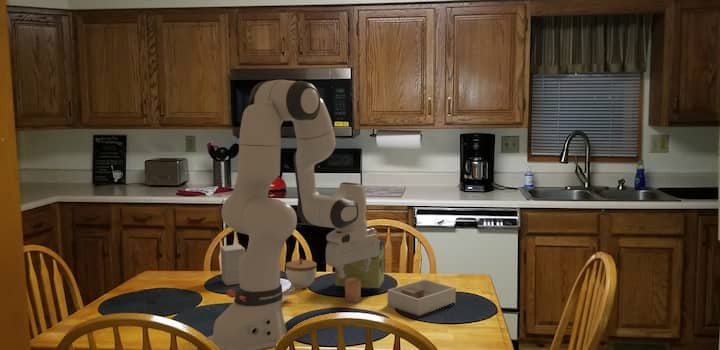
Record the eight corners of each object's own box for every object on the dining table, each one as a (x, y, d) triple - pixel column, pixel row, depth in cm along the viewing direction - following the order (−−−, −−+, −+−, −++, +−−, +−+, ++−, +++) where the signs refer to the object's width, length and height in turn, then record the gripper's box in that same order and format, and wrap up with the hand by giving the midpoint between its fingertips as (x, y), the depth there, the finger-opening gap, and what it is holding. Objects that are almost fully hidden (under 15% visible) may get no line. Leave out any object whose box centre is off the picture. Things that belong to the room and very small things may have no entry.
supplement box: (241, 277, 234) (240, 243, 232) (246, 283, 227) (245, 248, 225) (221, 280, 231) (220, 245, 229) (225, 285, 224) (224, 250, 222)
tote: (455, 303, 204) (455, 287, 203) (418, 315, 193) (418, 299, 192) (424, 293, 214) (424, 279, 213) (387, 305, 202) (387, 289, 202)
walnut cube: (413, 308, 197) (413, 293, 196) (401, 305, 201) (401, 289, 200) (424, 305, 200) (424, 289, 200) (412, 301, 204) (412, 286, 203)
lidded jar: (323, 284, 225) (322, 257, 224) (304, 292, 216) (303, 264, 215) (298, 279, 231) (298, 253, 230) (279, 287, 222) (279, 260, 221)
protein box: (379, 292, 215) (379, 247, 213) (334, 290, 218) (334, 245, 216) (384, 283, 225) (384, 240, 223) (341, 281, 229) (341, 238, 227)
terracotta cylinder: (352, 304, 203) (352, 283, 202) (342, 301, 207) (341, 280, 206) (363, 301, 206) (363, 280, 206) (353, 297, 210) (353, 277, 209)
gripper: (370, 225, 213) (371, 265, 215) (322, 236, 200) (323, 279, 202) (383, 228, 208) (384, 269, 210) (334, 239, 195) (336, 283, 197)
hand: (354, 274), depth 206 cm, fingers open, 8 cm apart
